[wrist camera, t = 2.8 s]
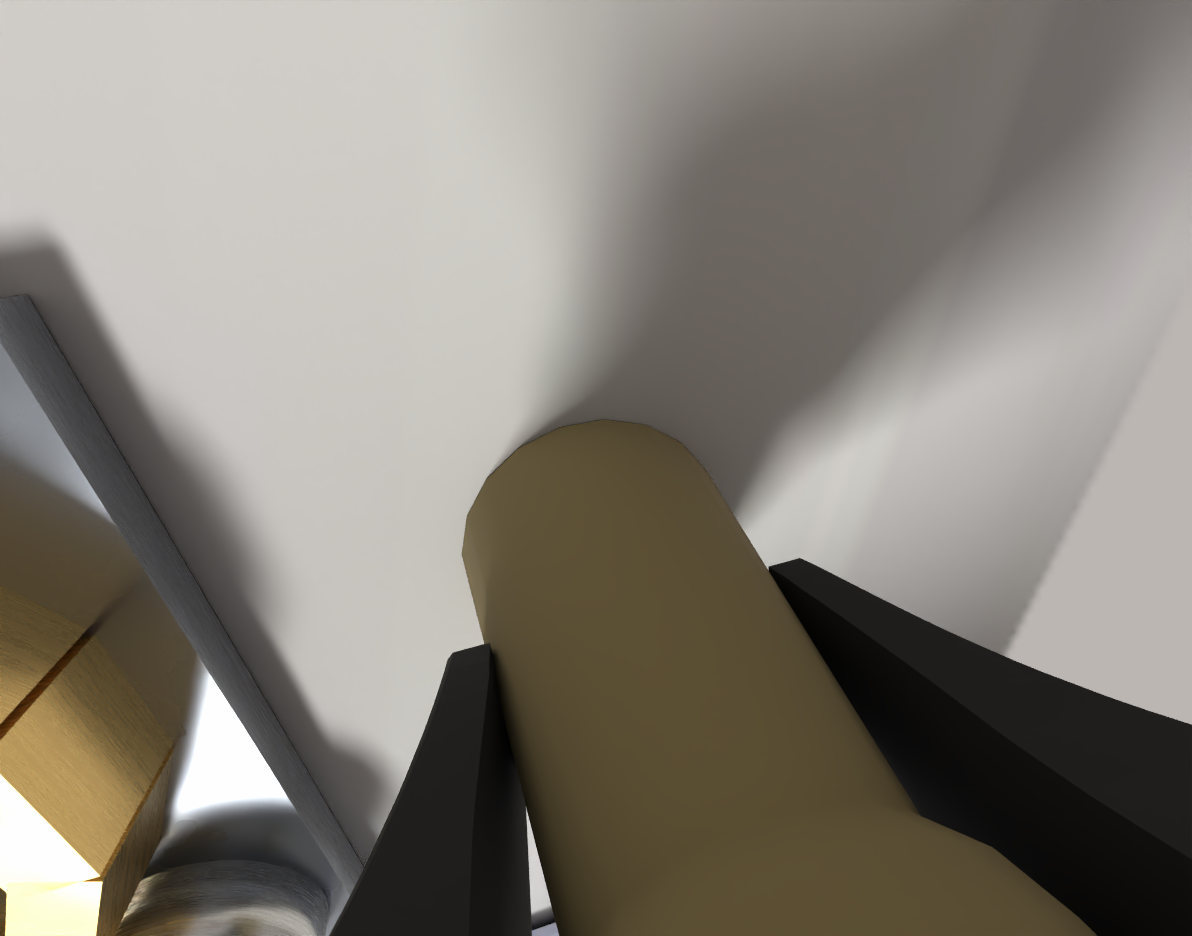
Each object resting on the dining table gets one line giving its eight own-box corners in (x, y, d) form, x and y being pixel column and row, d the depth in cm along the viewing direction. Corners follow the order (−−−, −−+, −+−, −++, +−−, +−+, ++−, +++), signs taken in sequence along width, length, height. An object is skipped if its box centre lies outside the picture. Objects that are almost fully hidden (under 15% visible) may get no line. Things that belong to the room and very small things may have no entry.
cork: (640, 362, 11) (2172, 1546, 1) (757, 554, 14) (1498, 1379, 4) (400, 531, 11) (12, 2581, 1) (562, 685, 14) (800, 1749, 4)
